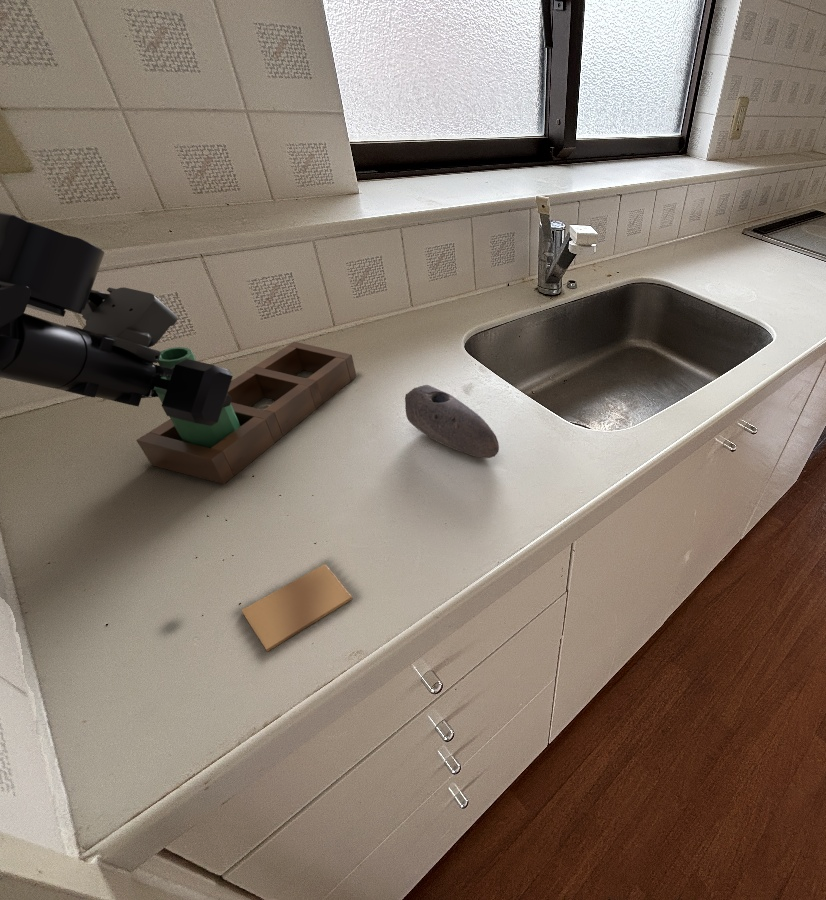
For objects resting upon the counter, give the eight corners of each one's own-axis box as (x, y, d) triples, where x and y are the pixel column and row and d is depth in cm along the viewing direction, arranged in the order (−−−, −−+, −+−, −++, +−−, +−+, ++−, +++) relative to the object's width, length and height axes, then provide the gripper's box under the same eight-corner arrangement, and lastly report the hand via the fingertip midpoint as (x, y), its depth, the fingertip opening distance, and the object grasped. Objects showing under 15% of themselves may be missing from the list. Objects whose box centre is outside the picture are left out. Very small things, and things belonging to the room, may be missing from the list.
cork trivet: (267, 651, 45) (266, 649, 45) (242, 612, 48) (240, 610, 47) (352, 599, 50) (351, 596, 50) (325, 565, 53) (325, 563, 52)
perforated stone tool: (509, 456, 69) (509, 416, 65) (484, 476, 66) (482, 435, 61) (432, 415, 75) (427, 375, 70) (404, 431, 71) (397, 390, 67)
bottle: (192, 470, 61) (137, 372, 52) (192, 442, 64) (141, 345, 56) (249, 457, 64) (207, 362, 55) (246, 431, 67) (206, 337, 58)
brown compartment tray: (224, 484, 60) (211, 459, 57) (151, 465, 61) (135, 440, 58) (356, 376, 80) (351, 354, 78) (300, 363, 81) (294, 341, 79)
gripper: (177, 293, 45) (295, 348, 60) (2, 255, 46) (160, 318, 62) (137, 412, 44) (268, 437, 59) (-41, 367, 45) (131, 403, 61)
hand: (206, 395), depth 60 cm, fingers closed on bottle, 6 cm apart
